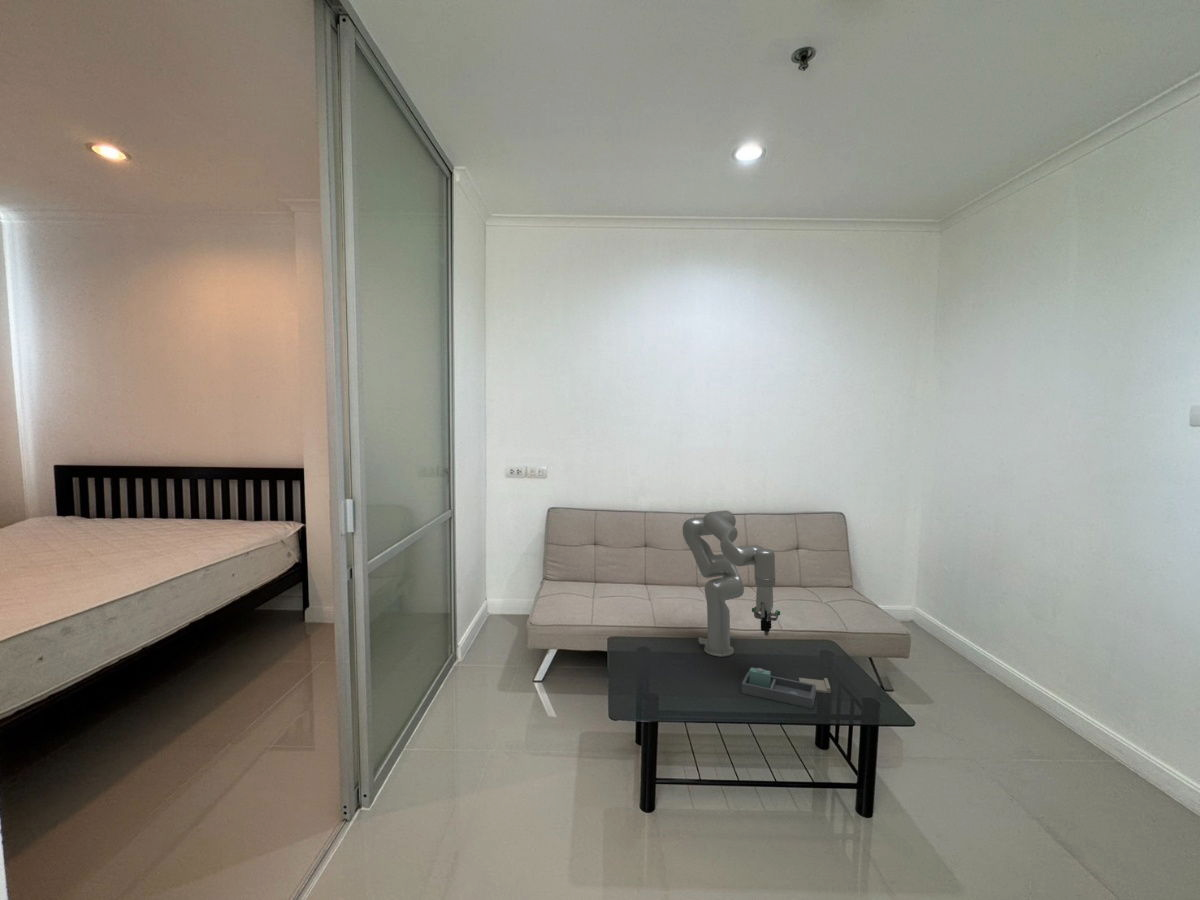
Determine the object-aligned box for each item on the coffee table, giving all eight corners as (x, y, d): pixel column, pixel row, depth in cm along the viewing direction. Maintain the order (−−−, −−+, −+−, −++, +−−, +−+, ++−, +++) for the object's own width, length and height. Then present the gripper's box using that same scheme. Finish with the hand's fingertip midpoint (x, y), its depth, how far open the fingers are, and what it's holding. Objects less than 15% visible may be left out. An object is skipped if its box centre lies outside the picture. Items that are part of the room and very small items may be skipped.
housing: (741, 693, 184) (741, 672, 184) (748, 680, 194) (748, 660, 194) (812, 709, 173) (812, 687, 173) (815, 694, 183) (815, 673, 182)
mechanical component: (779, 638, 190) (779, 611, 190) (752, 634, 195) (751, 608, 194) (781, 635, 192) (780, 609, 192) (753, 631, 197) (752, 606, 197)
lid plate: (801, 689, 186) (801, 685, 186) (799, 679, 194) (798, 675, 193) (830, 693, 183) (830, 688, 183) (827, 682, 191) (827, 678, 191)
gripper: (759, 575, 202) (760, 621, 202) (750, 585, 188) (751, 635, 188) (778, 577, 199) (779, 624, 199) (771, 588, 184) (772, 638, 184)
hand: (766, 629), depth 193 cm, fingers closed on mechanical component, 2 cm apart
